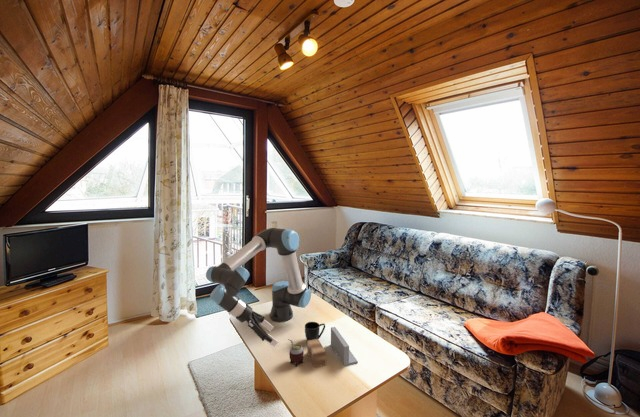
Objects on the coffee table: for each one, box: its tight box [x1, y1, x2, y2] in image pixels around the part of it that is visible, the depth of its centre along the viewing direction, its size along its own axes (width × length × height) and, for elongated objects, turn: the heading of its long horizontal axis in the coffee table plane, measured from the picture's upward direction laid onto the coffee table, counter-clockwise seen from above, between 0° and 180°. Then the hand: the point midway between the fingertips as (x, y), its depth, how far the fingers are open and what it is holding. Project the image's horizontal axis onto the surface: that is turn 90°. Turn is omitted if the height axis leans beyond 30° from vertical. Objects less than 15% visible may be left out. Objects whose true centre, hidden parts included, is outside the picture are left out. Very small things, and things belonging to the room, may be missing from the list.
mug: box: [304, 321, 326, 342], centre depth 162 cm, size 8×12×10 cm
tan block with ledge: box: [306, 338, 327, 368], centre depth 146 cm, size 12×6×7 cm, turn 18°
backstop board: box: [330, 326, 358, 367], centre depth 151 cm, size 19×7×10 cm, turn 18°
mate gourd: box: [287, 338, 304, 367], centre depth 142 cm, size 8×8×15 cm
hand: (274, 336), depth 138 cm, fingers open, 13 cm apart
